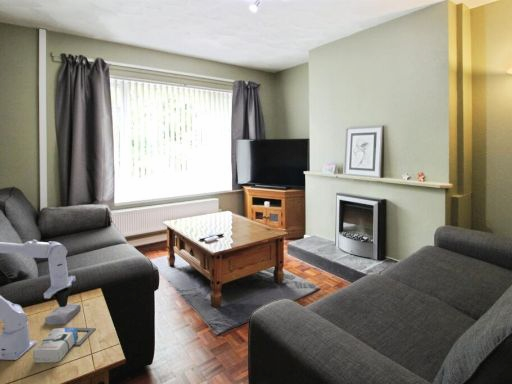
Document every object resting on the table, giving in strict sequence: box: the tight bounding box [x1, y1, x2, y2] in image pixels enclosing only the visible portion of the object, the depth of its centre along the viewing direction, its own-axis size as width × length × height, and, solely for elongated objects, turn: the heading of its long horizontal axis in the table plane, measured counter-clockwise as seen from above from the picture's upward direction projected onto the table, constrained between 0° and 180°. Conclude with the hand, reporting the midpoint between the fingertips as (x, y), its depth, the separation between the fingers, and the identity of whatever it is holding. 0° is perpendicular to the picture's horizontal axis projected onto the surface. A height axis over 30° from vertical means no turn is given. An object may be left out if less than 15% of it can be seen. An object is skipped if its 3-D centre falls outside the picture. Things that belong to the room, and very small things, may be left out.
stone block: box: [44, 303, 82, 326], centre depth 129 cm, size 12×5×10 cm
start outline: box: [61, 326, 97, 347], centre depth 115 cm, size 10×14×1 cm
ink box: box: [32, 327, 79, 364], centre depth 107 cm, size 8×5×12 cm
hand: (63, 306), depth 117 cm, fingers closed
